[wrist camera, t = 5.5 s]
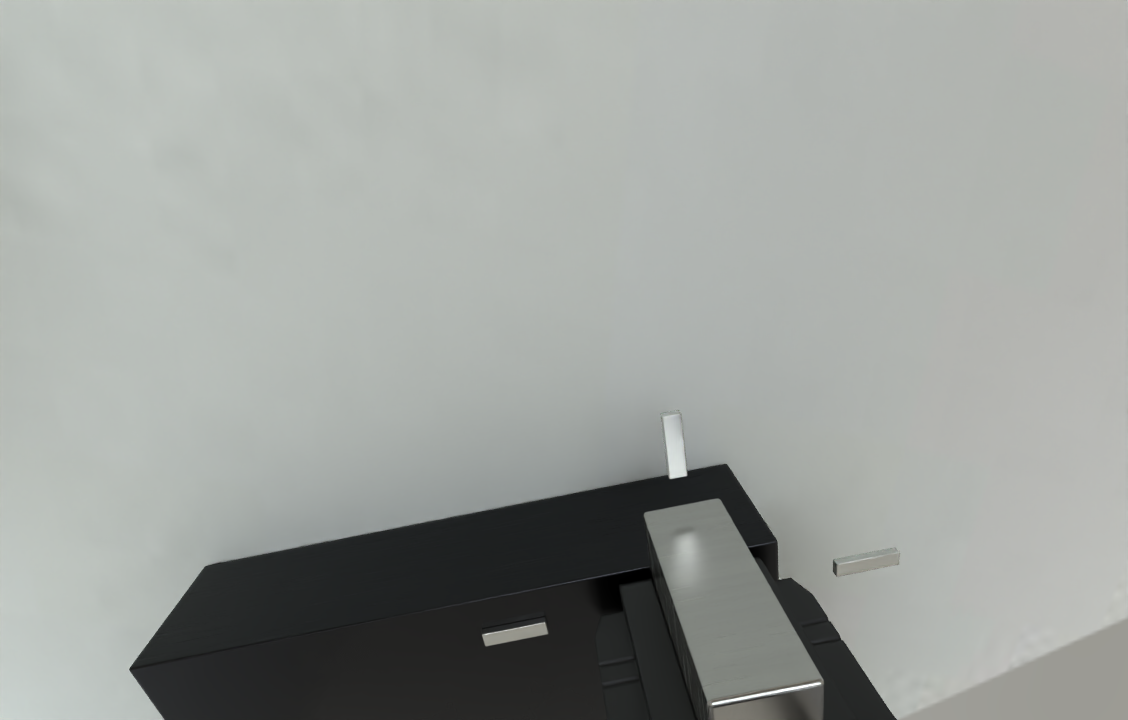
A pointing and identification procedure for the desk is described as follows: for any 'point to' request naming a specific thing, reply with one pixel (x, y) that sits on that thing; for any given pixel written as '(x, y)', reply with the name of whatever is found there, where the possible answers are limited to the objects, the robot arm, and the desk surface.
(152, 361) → the desk surface
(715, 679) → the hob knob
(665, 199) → the desk surface
